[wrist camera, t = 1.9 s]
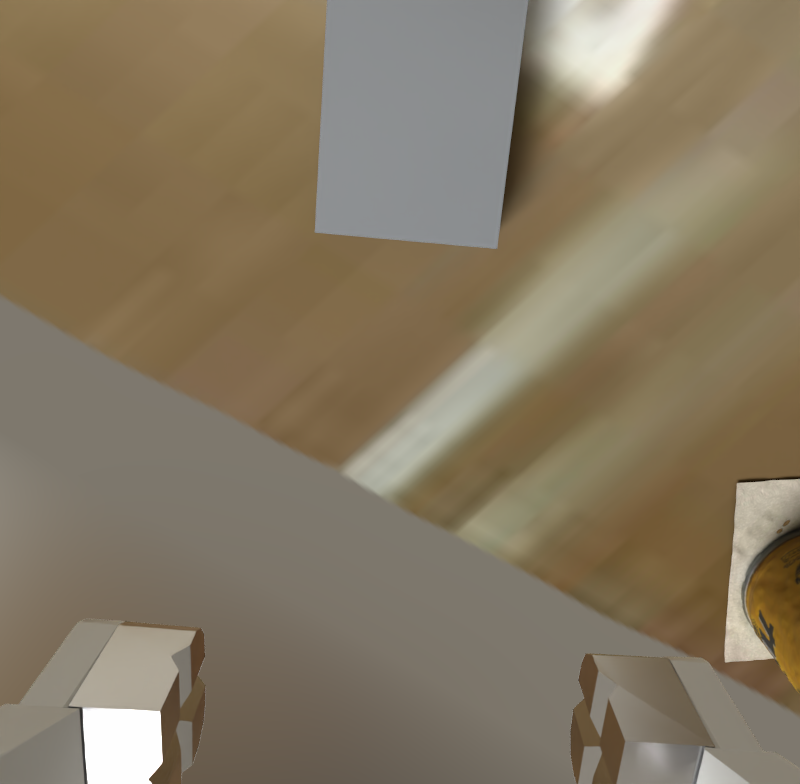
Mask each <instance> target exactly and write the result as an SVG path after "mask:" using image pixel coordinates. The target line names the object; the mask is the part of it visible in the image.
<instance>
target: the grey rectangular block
mask: <svg viewBox="0 0 800 784" xmlns="http://www.w3.org/2000/svg"><path fill="white" fill-rule="evenodd" d="M527 8H528V0H327V13H326V32H325V51H324V70H323V89H322V108H321V127H320V146H319V165H318V184H317V203H316V222H315V232H316V233H327V234H338V235H349V236H360V237H371V238H382V239H393V240H404V241H415V242H427V243H438V244H449V245H460V246H471V247H482V248H493V249H497V245H498V237H499V230H500V222H501V214H502V206H503V198H504V190H505V182H506V174H507V166H508V158H509V150H510V142H511V135H512V127H513V119H514V111H515V103H516V95H517V87H518V79H519V71H520V63H521V55H522V48H523V40H524V32H525V24H526V16H527Z"/></svg>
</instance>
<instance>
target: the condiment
mask: <svg viewBox="0 0 800 784" xmlns="http://www.w3.org/2000/svg"><path fill="white" fill-rule="evenodd" d="M786 520H790V522H789V524H788V525H787V526H785V527H784V526H783V524H784V522H785V521H786ZM734 521H735V529H734V538H733V554H732V564H731V572H730V580H729V594H728V607H727V620H726V637H725V662H733V661H752V660H765V659H769V658H774V659H775V661H776V662H777V664H778V665H779V666H780V668H781V670H782V671H783V672H784V673H785V675H786V676H787V677H788V680H789V681H790V682H791V683H792V684H793V686H794V688H795V689H796V690H797V691H798V692H799V693H800V479H795V480H793V479H792V480H769V481H762V482H747V483H737V491H736V509H735V519H734ZM780 528H781V529H783V531H782V532H781V533H779V534H777V533H776V532H777V530H779V529H780Z"/></svg>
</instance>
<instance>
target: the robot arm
mask: <svg viewBox="0 0 800 784" xmlns="http://www.w3.org/2000/svg"><path fill="white" fill-rule="evenodd" d="M204 658H205V639H204V632H203V631H202V629H201V628H198V627H186V626H175V625H163V624H152V623H141V622H129V621H125V622H122V621H115V620H99V619H84V620H82V621H80V622H78V623H77V624H76V625H75V627H74V628H73V629H72V631H71V632H70V633H69V635H68V636H67V637H66V639H65V640H64V642H63V643H62V644H61V646H60V647H59V649H58V650H57V652H56V653H55V654H54V656H53V657H52V659H51V660H50V661H49V663H48V664H47V665H46V667H45V668H44V669H43V671H42V672H41V674H40V675H39V677H38V678H37V679H36V681H35V682H34V683H33V685H32V686H31V688H30V689H29V690H28V692H27V693H26V695H25V696H24V697H23V699H22V700H21V702H20V703H19V704H18V705H17V704H5V705H3V706H1V707H0V784H182V778H181V777H182V772H183V771H185V770H186V769H187V768H189V767H190V766H191V765H192V764H193V762H194V759H195V756H196V752H197V750H198V747H199V742H200V737H201V733H202V728H203V723H204V714H205V701H206V696H205V694H206V687H205V685H204V683H203V682H202V681H201V679H200V678H199V677H198V673H199V671H200V668H201V666H202V663H203V661H204ZM578 681H579V684H580V687H581V690H582V693H583V696H584V699H583V701H581V702H580V703H579V704H578V705H577V706H576V707H575V708H574V709H573V715H572V723H571V729H570V755H571V761H572V769H573V773H574V777H575V781H576V784H800V768H798V767H797V766H795V765H794V764H793V763H791V762H790V761H788V760H787V759H785V758H784V757H782V756H781V755H779V754H778V753H776V752H765V751H763V749H762V748H761V746H760V745H759V743H758V741H757V740H756V738H755V736H754V735H753V733H752V732H751V730H750V728H749V727H748V725H747V724H746V722H745V720H744V719H743V717H742V715H741V714H740V712H739V711H738V709H737V707H736V706H735V704H734V702H733V701H732V699H731V698H730V696H729V694H728V693H727V691H726V690H725V688H724V686H723V685H722V683H721V681H720V680H719V678H718V677H717V675H716V673H715V672H714V670H713V669H712V667H711V665H710V664H709V662H707V661H706V660H704V659H703V658H694V657H662V658H659V657H642V656H623V655H605V654H587V653H586V654H585V656H584V658H583V661H582V663H581V668H580V673H579V679H578Z"/></svg>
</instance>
